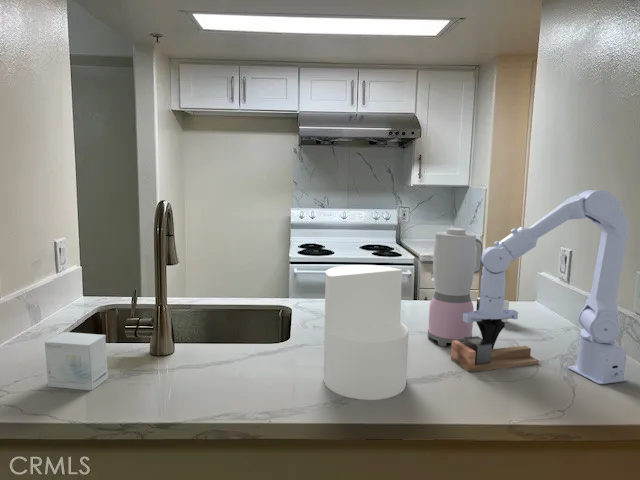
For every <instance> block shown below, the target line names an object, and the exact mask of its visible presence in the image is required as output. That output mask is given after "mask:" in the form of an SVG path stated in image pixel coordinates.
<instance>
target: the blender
mask: <svg viewBox="0 0 640 480" xmlns="http://www.w3.org/2000/svg"><path fill="white" fill-rule="evenodd" d="M445 230H446V231H438V232H436V233H435V235H434V236H435V237H434V245H433V256H432V257H433V258H432V260H433V261H432V273H433V283H434V293H433V297H432V298H431V300H430V303H429V308H428V309H429V310H428V328H427V339H428V340H435V341H437V343H438V346H441V347H447V343H448V344H452V341H454V340H458V341H459V342H461V343H462V344H464V337H473V326H474V322H471V323H466V322H464V321H463V313H469V312H473V311H475V310H474V304H473V302H472V299H471V295H470V294H471V288H472V285H473V281H474V276H475V274H478V273H479V272H480V270H482V269H481V267H482V261H481V256H482V254H483V243H482V241H481V240H480V239H478V238H477V236H476V234H474V233H471V232H466V229H465V228H459V227H448V228H446V229H445Z"/></svg>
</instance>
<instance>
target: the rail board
mask: <svg viewBox="0 0 640 480" xmlns="http://www.w3.org/2000/svg"><path fill="white" fill-rule="evenodd" d="M450 351H451V352H450V360H451V361H452V362H454V363H455V364H457V365H458V366H460V367H461V368H462V369H463V370H465V371H467V373H472V372H473V373H474V372H482V371H488V370H489V371H490V370H499V369H508V368H509V369H510V368H516V367H517V368H518V367H526V366H527V367H528V366H534V365H539V361H540V360H538V359H537V358H535V357H533V356H531V353H532V352H531V351H532V348H531V347H529V346H527V345H519V346H509V347H508V346H507V347H501V348H499V347H498V348H493V349H492V350H491V363H482V364H476V363H475V354H476V352H475V351H474V350H472V349H471V348H469V347H467V346H466V345H464V343H461V342H459V341H458V340H454V341H452V343H451V350H450Z"/></svg>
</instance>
